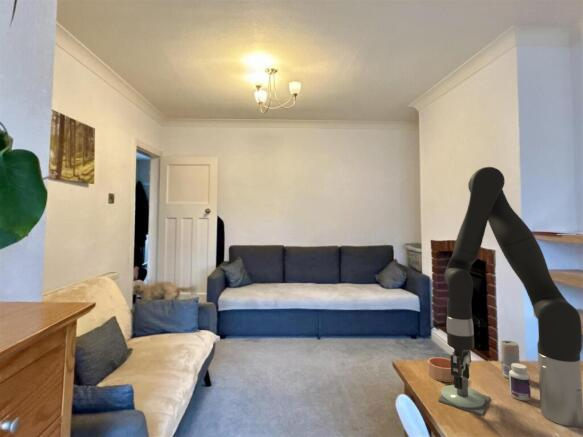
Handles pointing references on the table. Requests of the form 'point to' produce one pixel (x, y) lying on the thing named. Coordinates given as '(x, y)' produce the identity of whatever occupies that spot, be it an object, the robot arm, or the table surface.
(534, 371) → the table surface
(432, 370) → the bowl
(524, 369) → the pill bottle
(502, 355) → the energy drink
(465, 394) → the lid
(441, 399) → the mat
